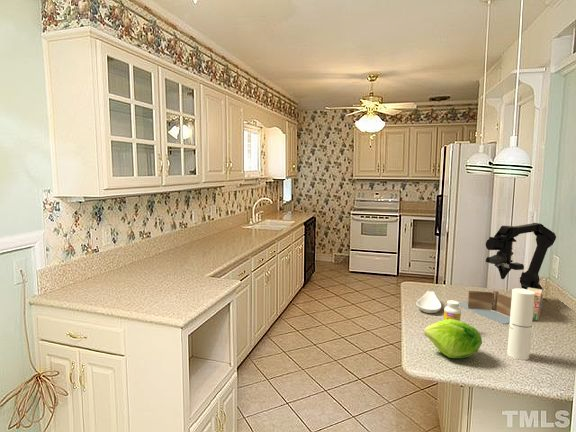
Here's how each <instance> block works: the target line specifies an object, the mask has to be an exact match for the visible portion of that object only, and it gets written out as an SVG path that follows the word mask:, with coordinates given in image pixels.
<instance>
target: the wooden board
mask: <svg viewBox="0 0 576 432" xmlns="http://www.w3.org/2000/svg"><path fill="white" fill-rule="evenodd" d="M467 296H468V297H467V302H468V308H478V309H491V310H492V301H493V291H479V290H476V291H475V290H468V295H467Z"/></svg>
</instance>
